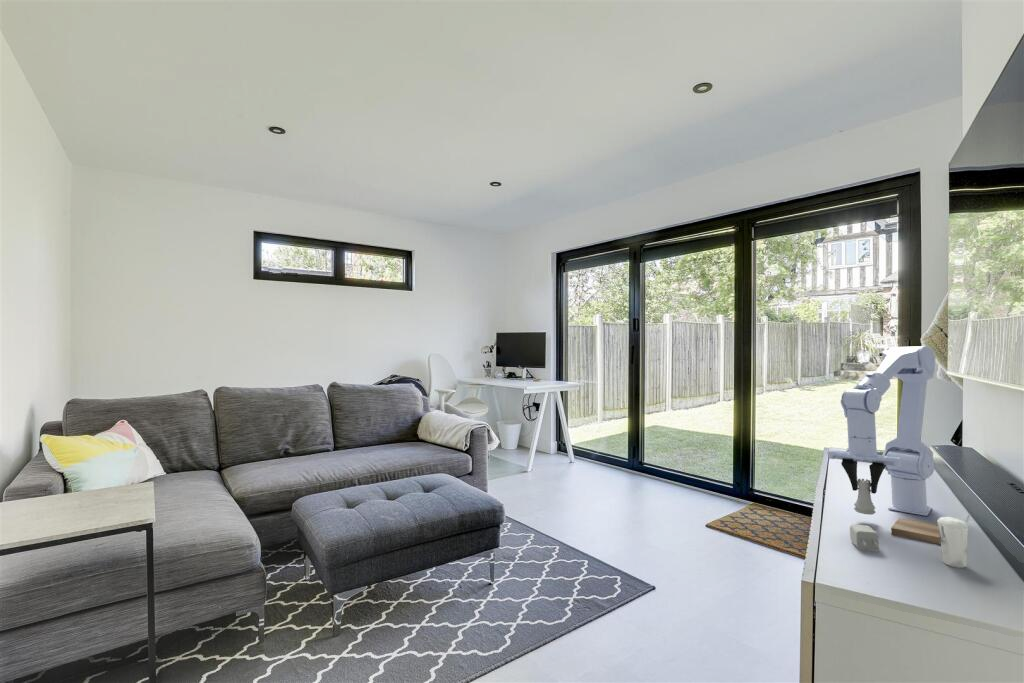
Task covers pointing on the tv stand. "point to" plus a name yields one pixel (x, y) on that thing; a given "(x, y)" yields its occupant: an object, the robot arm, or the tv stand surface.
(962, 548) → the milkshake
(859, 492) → the rook chess piece
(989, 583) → the tv stand surface
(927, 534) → the walnut plinth
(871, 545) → the usb wall charger
